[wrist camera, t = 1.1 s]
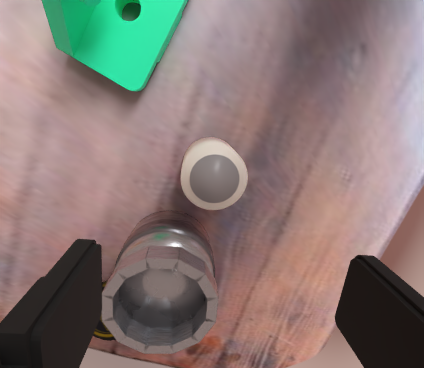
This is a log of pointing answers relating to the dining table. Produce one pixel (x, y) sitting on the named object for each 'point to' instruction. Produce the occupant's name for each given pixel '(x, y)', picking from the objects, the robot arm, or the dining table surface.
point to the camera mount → (114, 35)
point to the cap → (213, 174)
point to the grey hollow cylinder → (162, 286)
